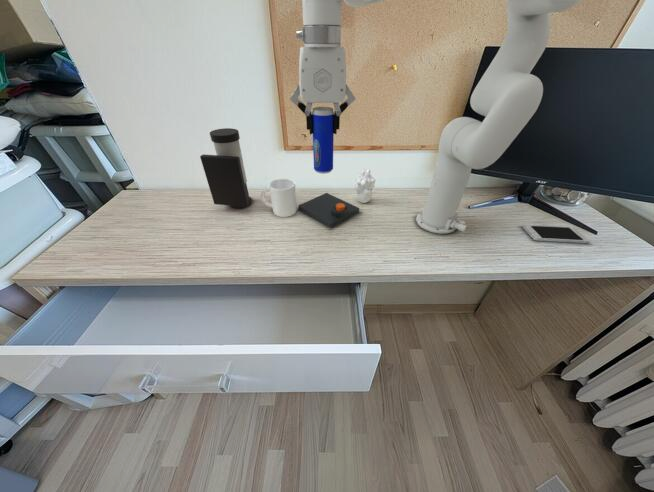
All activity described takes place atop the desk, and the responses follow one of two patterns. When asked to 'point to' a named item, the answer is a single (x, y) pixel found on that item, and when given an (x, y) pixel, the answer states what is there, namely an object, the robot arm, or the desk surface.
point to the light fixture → (226, 170)
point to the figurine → (364, 186)
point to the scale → (327, 210)
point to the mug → (281, 197)
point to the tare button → (340, 207)
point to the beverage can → (323, 139)
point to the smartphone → (555, 234)
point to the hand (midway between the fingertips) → (323, 131)
